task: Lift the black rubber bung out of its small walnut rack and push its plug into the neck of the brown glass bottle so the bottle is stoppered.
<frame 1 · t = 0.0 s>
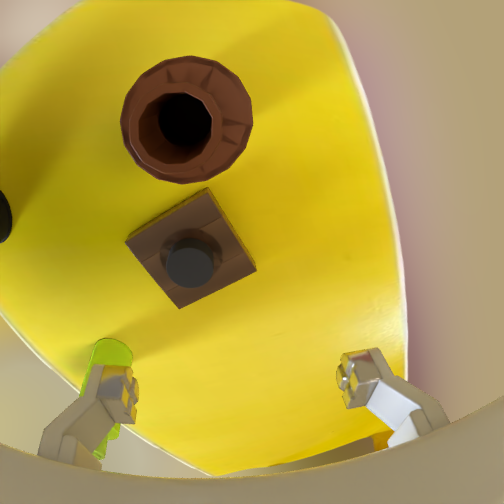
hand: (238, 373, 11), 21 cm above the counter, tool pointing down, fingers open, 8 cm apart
soap dispenser: (111, 352, 39), on the counter
bung: (190, 258, 30), in the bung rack
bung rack: (192, 248, 32), on the counter
bottle: (198, 109, 25), on the counter
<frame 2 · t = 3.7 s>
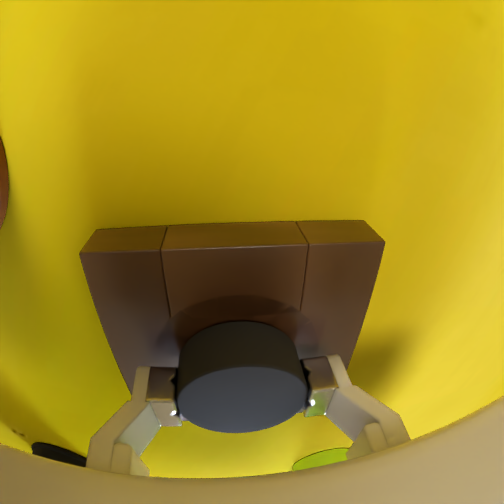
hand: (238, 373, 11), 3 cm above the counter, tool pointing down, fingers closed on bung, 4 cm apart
soap dispenser: (321, 460, 24), on the counter
bung: (238, 363, 11), in the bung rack, touching gripper
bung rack: (233, 328, 13), on the counter
aerosol can: (67, 458, 21), on the counter
when the fingers open (17 cm above the counter, at t = 10.6 s): bung stays where it is, resting on bottle.
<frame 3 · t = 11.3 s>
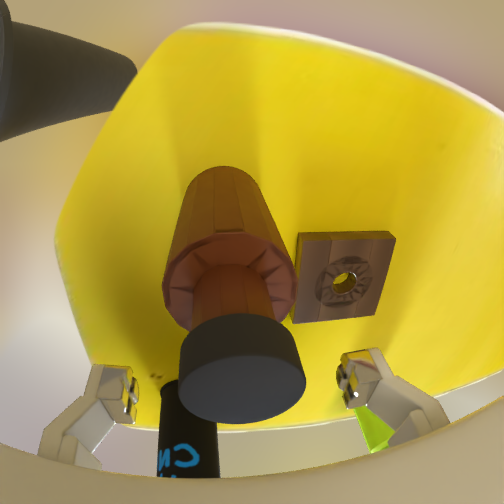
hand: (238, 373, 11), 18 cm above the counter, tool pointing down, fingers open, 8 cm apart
soap dispenser: (359, 376, 42), on the counter
bung: (238, 355, 12), in the bottle, point 17 cm above the counter
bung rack: (338, 273, 32), on the counter
bottle: (223, 203, 26), on the counter
aerosol can: (188, 393, 39), on the counter
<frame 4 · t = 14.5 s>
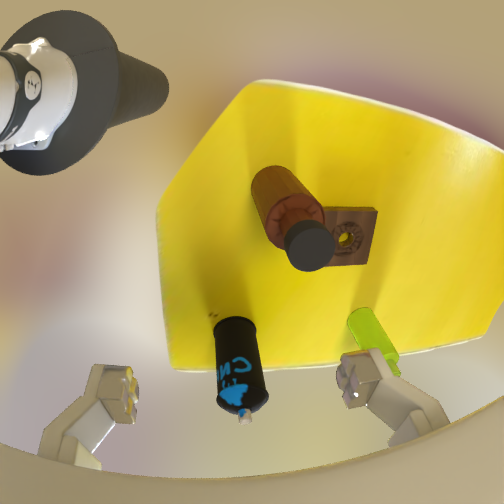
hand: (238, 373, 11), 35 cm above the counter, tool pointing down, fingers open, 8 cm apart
soap dispenser: (359, 319, 60), on the counter
bung: (306, 240, 29), in the bottle, point 17 cm above the counter
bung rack: (342, 234, 49), on the counter
bottle: (274, 187, 44), on the counter
aerosol can: (234, 331, 57), on the counter
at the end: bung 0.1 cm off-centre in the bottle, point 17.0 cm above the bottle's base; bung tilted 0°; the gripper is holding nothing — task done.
